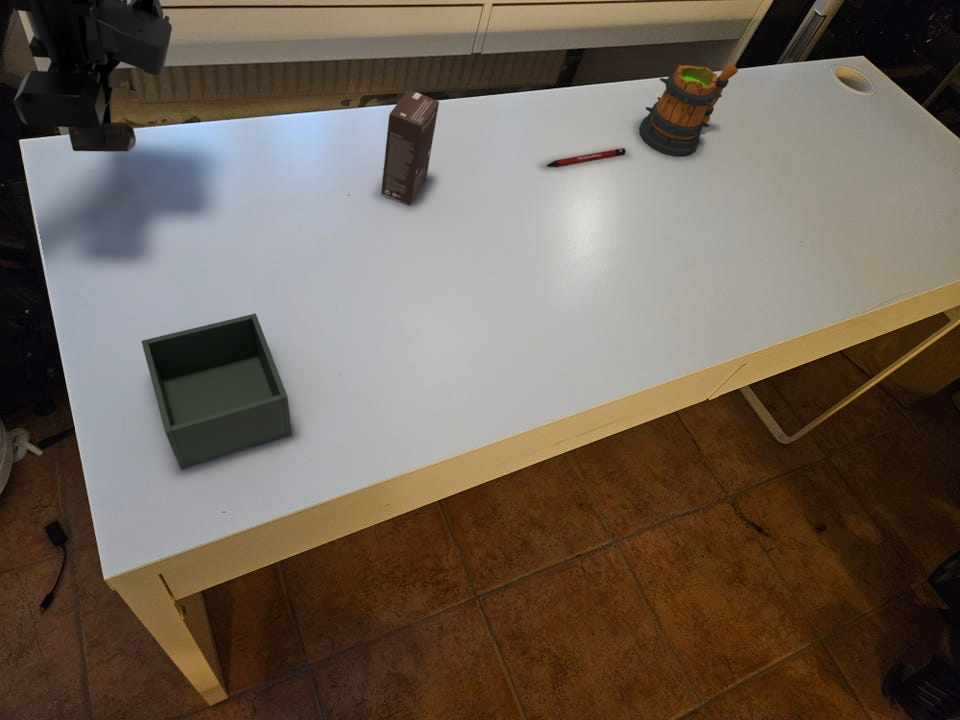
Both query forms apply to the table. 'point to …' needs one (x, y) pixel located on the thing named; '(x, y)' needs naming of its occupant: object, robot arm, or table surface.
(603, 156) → the pencil
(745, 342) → the table surface
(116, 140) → the block
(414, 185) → the box
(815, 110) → the table surface
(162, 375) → the bin
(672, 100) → the mug
